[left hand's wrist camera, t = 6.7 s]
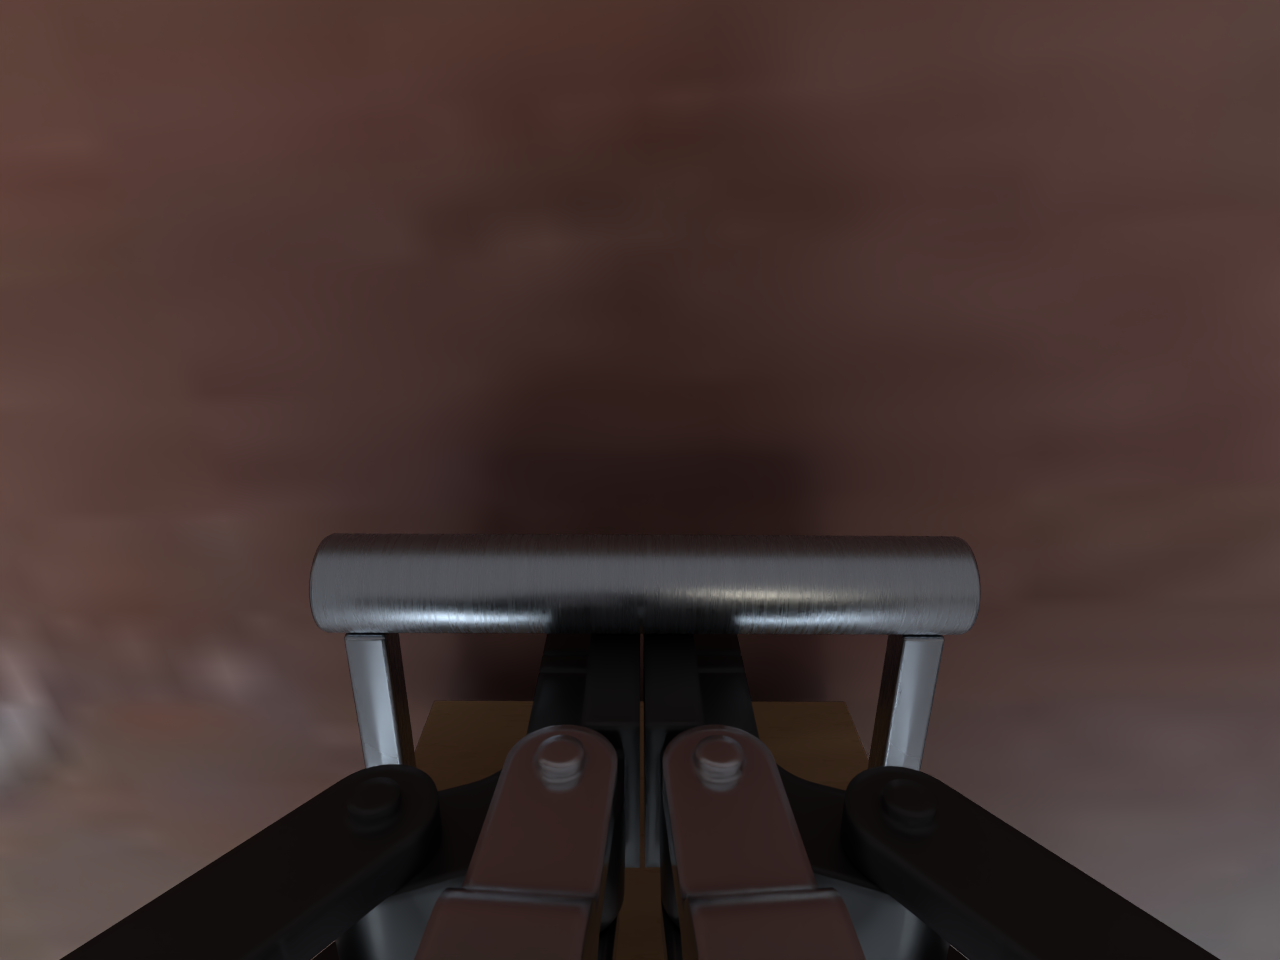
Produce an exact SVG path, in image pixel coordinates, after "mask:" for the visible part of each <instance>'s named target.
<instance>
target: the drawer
mask: <svg viewBox="0 0 1280 960" xmlns="http://www.w3.org/2000/svg"><path fill="white" fill-rule="evenodd" d="M980 592H981V591H980V577H979V571H978V566H977V562H976V559H975V556H974V554H973V552H972V550H971V548H970V546H969V545H968V544H967V543H966V542H965V541H964V540H963V539H961V538H959V537H956V536H781V535H559V534H337V533H334V534H331V535H329V536H327V537H325V538H324V539H323V540H322V541H321V543H320V544H319V546H318V548H317V550H316V553H315V556H314V559H313V563H312V567H311V573H310V583H309V597H310V606H311V611H312V615H313V618H314V620H315V623H316V624H317V626H318V627H319V628H320V629H321V630H323V631H325V632H331V633H346V635H345V638H344V639H345V646H346V652H347V658H348V664H349V670H350V676H351V682H352V688H353V694H354V700H355V707H356V713H357V719H358V725H359V731H360V737H361V743H362V749H363V755H364V761H365V767H366V768H369V767H373V766H378V765H385V764H403V765H408V766H412V767H415V768H418V769H420V770H422V771H424V772H425V773H426V774H428V775H429V776H430V777H431V778H432V780H433V781H434V783H435V785H436V788H437V791H441V790H445V789H449V788H453V787H457V786H461V785H465V784H469V783H472V782H476V781H479V780H481V779H484V778H486V777H489V776H491V775H492V774H494V773H496V772H498V771H500V770H501V769H502V768H503V765H504V762H505V759H506V757H507V755H508V753H509V751H510V750H511V748H512V747H513V746H514V745H515V744H516V743H517V742H518V741H519V740H520V739H522V738H523V737H525V736H526V734H527V729H528V725H529V720H530V715H531V710H532V705H533V701H434V703H433V705H432V708H431V711H430V713H429V716H428V719H427V721H426V724H425V726H424V729H423V732H422V734H421V737H420V740H419V742H418V745H417V747H416V750H415V753H414V746H413V739H412V731H411V723H410V716H409V708H408V701H407V693H406V686H405V678H404V670H403V663H402V655H401V648H400V640H399V633H632V634H889V635H888V641H887V647H886V654H885V660H884V667H883V673H882V680H881V686H880V693H879V699H878V705H877V712H876V718H875V725H874V731H873V738H872V744H871V750H870V757H869V761H868V758H867V756H866V753H865V751H864V748H863V746H862V743H861V741H860V738H859V736H858V733H857V731H856V728H855V726H854V723H853V721H852V718H851V716H850V713H849V711H848V708H847V706H846V703H845V702H758V701H751V702H752V707H753V711H754V716H755V721H756V725H757V730H758V734H759V738H760V740H761V741H762V742H763V743H764V744H765V745H766V746H767V747H768V748H769V750H770V751H771V753H772V755H773V757H774V759H775V762H776V763H777V764H778V765H779V766H780V767H782V768H783V769H785V770H786V771H788V772H790V773H791V774H793V775H795V776H797V777H800V778H802V779H805V780H807V781H811V782H814V783H818V784H822V785H826V786H830V787H834V788H838V789H842V790H846V789H847V786H848V784H849V783H850V781H851V780H852V779H853V778H854V777H855V776H856V775H857V774H859V773H861V772H862V771H864V770H867V769H870V768H873V767H879V766H900V767H906V768H911V769H914V770H917V771H920V767H921V762H922V756H923V751H924V746H925V740H926V735H927V730H928V725H929V719H930V714H931V709H932V703H933V698H934V693H935V687H936V682H937V677H938V672H939V666H940V661H941V656H942V650H943V645H944V637H943V636H942V635H961V634H963V633H966V632H968V631H969V630H970V629H971V628H972V626H973V625H974V623H975V621H976V618H977V615H978V611H979V606H980ZM619 918H620V920H619V935H618V945H617V954H616V960H664V953H663V944H662V935H661V882H660V867H645V828H644V701H640V868H625V887H624V900H623V904H622V907H621V910H620V911H619Z"/></svg>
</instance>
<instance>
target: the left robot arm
mask: <svg viewBox="0 0 1280 960" xmlns="http://www.w3.org/2000/svg"><path fill="white" fill-rule="evenodd" d="M644 828H645V867H660V882H661V935H662V944H663V953H664V960H968V959H969V960H1220V959H1218V958H1217V957H1215V956H1214V955H1212V954H1211V953H1209V952H1207V951H1206V950H1204V949H1203V948H1201V947H1200V946H1198V945H1196V944H1195V943H1193V942H1192V941H1190V940H1189V939H1187V938H1186V937H1184V936H1182V935H1181V934H1179V933H1178V932H1176V931H1175V930H1173V929H1171V928H1170V927H1168V926H1167V925H1165V924H1164V923H1162V922H1160V921H1159V920H1157V919H1156V918H1154V917H1153V916H1151V915H1150V914H1148V913H1146V912H1145V911H1143V910H1142V909H1140V908H1139V907H1137V906H1135V905H1134V904H1132V903H1131V902H1129V901H1128V900H1126V899H1124V898H1123V897H1121V896H1120V895H1118V894H1117V893H1115V892H1113V891H1112V890H1110V889H1109V888H1107V887H1106V886H1104V885H1103V884H1101V883H1099V882H1098V881H1096V880H1095V879H1093V878H1092V877H1090V876H1088V875H1087V874H1085V873H1084V872H1082V871H1081V870H1079V869H1077V868H1076V867H1074V866H1073V865H1071V864H1070V863H1068V862H1067V861H1065V860H1063V859H1062V858H1060V857H1059V856H1057V855H1056V854H1054V853H1052V852H1051V851H1049V850H1048V849H1046V848H1045V847H1043V846H1041V845H1040V844H1038V843H1037V842H1035V841H1034V840H1032V839H1030V838H1029V837H1027V836H1026V835H1024V834H1023V833H1021V832H1020V831H1018V830H1016V829H1015V828H1013V827H1012V826H1010V825H1009V824H1007V823H1005V822H1004V821H1002V820H1001V819H999V818H998V817H996V816H994V815H993V814H991V813H990V812H988V811H987V810H985V809H983V808H982V807H980V806H979V805H977V804H976V803H974V802H973V801H971V800H969V799H968V798H966V797H965V796H963V795H962V794H960V793H958V792H957V791H955V790H954V789H952V788H951V787H949V786H947V785H946V784H944V783H943V782H941V781H939V780H938V779H936V778H934V777H932V776H930V775H928V774H925V773H923V772H920V771H917V770H914V769H911V768H906V767H900V766H879V767H873V768H870V769H867V770H864V771H862V772H861V773H859V774H857V775H856V776H855V777H854V778H853V779H852V780H851V781H850V783H849V784H848V786H847V789H846V790H842V789H838V788H834V787H830V786H826V785H822V784H818V783H814V782H811V781H807V780H805V779H802V778H800V777H797V776H795V775H793V774H791V773H790V772H788V771H786V770H785V769H783V768H782V767H780V766H779V765H778V764H777V763H776V762H775V759H774V757H773V755H772V753H771V751H770V750H769V748H768V747H767V746H766V745H765V744H764V743H763V742H762V741H761V740H760V738H759V734H758V730H757V725H756V721H755V716H754V711H753V707H752V702H751V697H750V693H749V688H748V684H747V679H746V674H745V673H744V665H743V660H742V656H741V651H740V647H739V642H738V637H737V634H644ZM625 868H640V634H632V633H547V638H546V642H545V647H544V655H543V657H542V662H541V667H540V673H539V676H538V681H537V686H536V691H535V696H534V700H533V705H532V710H531V715H530V720H529V725H528V729H527V734H526V736H525V737H523V738H522V739H520V740H519V741H518V742H517V743H516V744H515V745H514V746H513V747H512V748H511V750H510V751H509V753H508V755H507V757H506V759H505V762H504V765H503V768H502V769H501V770H500V771H498V772H496V773H494V774H492V775H491V776H489V777H486V778H484V779H481V780H479V781H476V782H472V783H469V784H465V785H461V786H457V787H453V788H449V789H445V790H441V791H437V788H436V785H435V783H434V781H433V780H432V778H431V777H430V776H429V775H428V774H426V773H425V772H424V771H422V770H420V769H418V768H415V767H412V766H408V765H403V764H385V765H378V766H373V767H369V768H366V769H363V770H360V771H358V772H355V773H353V774H351V775H349V776H347V777H346V778H344V779H342V780H340V781H339V782H337V783H336V784H334V785H333V786H331V787H329V788H328V789H326V790H325V791H323V792H322V793H320V794H318V795H317V796H315V797H314V798H312V799H311V800H309V801H307V802H306V803H304V804H303V805H301V806H300V807H298V808H297V809H295V810H293V811H292V812H290V813H289V814H287V815H286V816H284V817H282V818H281V819H279V820H278V821H276V822H275V823H273V824H271V825H270V826H268V827H267V828H265V829H264V830H262V831H260V832H259V833H257V834H256V835H254V836H253V837H251V838H250V839H248V840H246V841H245V842H243V843H242V844H240V845H239V846H237V847H235V848H234V849H232V850H231V851H229V852H228V853H226V854H224V855H223V856H221V857H220V858H218V859H217V860H215V861H214V862H212V863H210V864H209V865H207V866H206V867H204V868H203V869H201V870H199V871H198V872H196V873H195V874H193V875H192V876H190V877H188V878H187V879H185V880H184V881H182V882H181V883H179V884H177V885H176V886H174V887H173V888H171V889H170V890H168V891H167V892H165V893H163V894H162V895H160V896H159V897H157V898H156V899H154V900H152V901H151V902H149V903H148V904H146V905H145V906H143V907H141V908H140V909H138V910H137V911H135V912H134V913H132V914H131V915H129V916H127V917H126V918H124V919H123V920H121V921H120V922H118V923H116V924H115V925H113V926H112V927H110V928H109V929H107V930H105V931H104V932H102V933H101V934H99V935H98V936H96V937H94V938H93V939H91V940H90V941H88V942H87V943H85V944H84V945H82V946H80V947H79V948H77V949H76V950H74V951H73V952H71V953H69V954H68V955H66V956H65V957H63V958H62V959H60V960H311V959H312V958H313V957H314V956H316V955H317V954H318V953H319V952H321V951H322V950H323V949H324V948H326V947H327V946H328V945H329V944H331V943H332V942H333V941H334V940H335V942H333V943H332V944H331V945H330V946H328V947H327V948H326V949H325V950H323V951H322V952H321V953H320V954H318V955H317V956H316V957H315V958H314V959H312V960H616V954H617V945H618V935H619V920H620V918H619V911H620V910H621V907H622V904H623V900H624V887H625ZM950 944H951V945H952V946H953V947H954V948H956V949H957V950H958V951H959V952H961V953H962V954H963V955H964V956H966V957H967V958H968V959H966V958H965V957H964V956H963V955H962V954H960V953H959V952H958V951H957V950H955V949H954V948H953V947H952V946H950Z"/></svg>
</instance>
